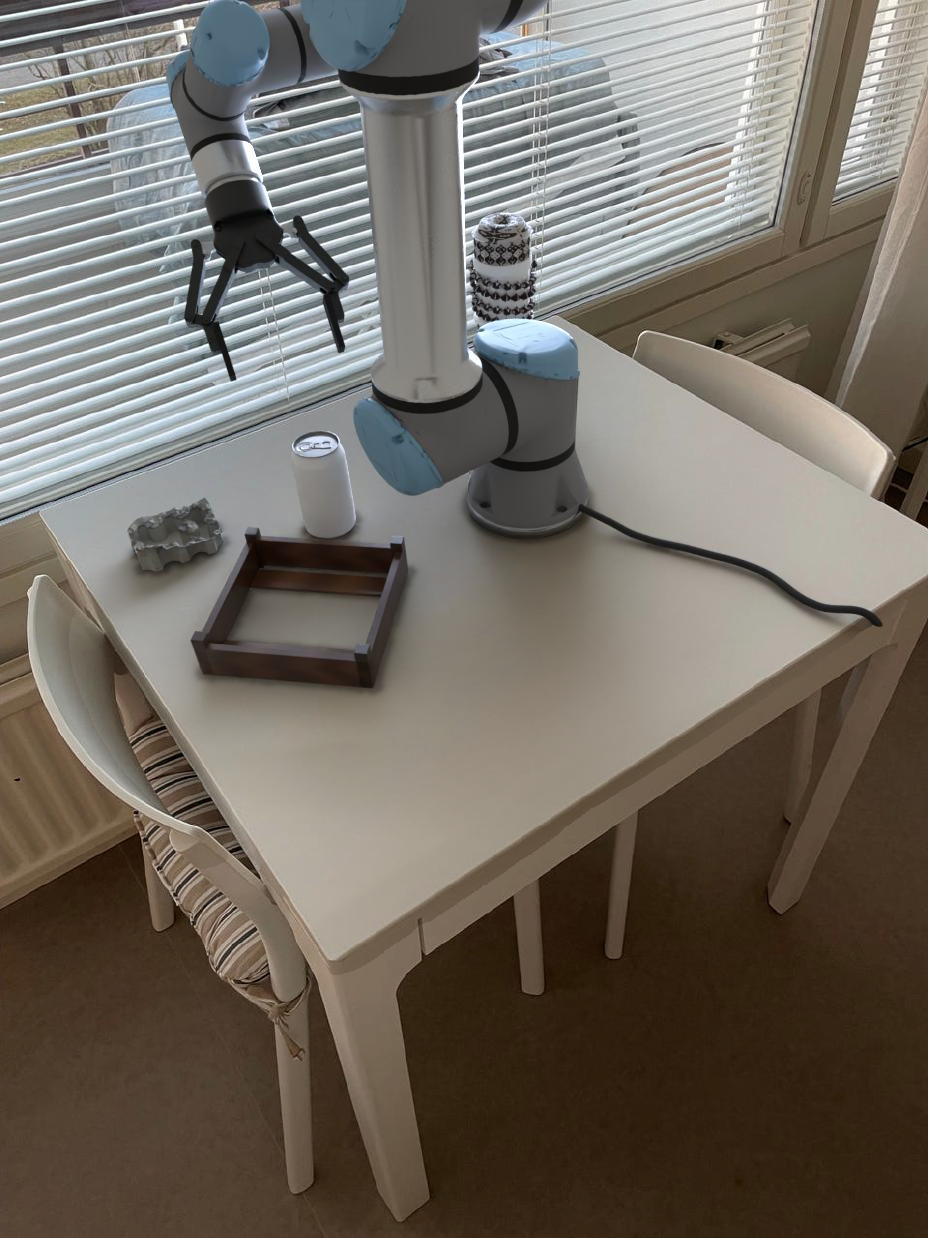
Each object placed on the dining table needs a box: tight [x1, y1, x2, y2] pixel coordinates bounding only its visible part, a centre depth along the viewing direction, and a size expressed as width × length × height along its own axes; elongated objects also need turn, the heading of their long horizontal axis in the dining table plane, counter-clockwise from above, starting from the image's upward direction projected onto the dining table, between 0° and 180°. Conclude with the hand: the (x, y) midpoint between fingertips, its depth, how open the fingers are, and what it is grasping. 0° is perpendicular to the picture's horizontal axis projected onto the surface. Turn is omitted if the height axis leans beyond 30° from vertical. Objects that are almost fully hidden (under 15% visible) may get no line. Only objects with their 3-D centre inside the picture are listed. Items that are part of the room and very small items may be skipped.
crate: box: [190, 526, 409, 689], centre depth 103 cm, size 19×19×5 cm
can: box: [290, 430, 357, 540], centre depth 113 cm, size 6×6×12 cm
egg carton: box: [126, 497, 224, 572], centre depth 114 cm, size 11×8×4 cm
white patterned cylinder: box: [467, 212, 538, 331], centre depth 130 cm, size 9×9×25 cm
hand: (288, 364), depth 113 cm, fingers open, 13 cm apart
